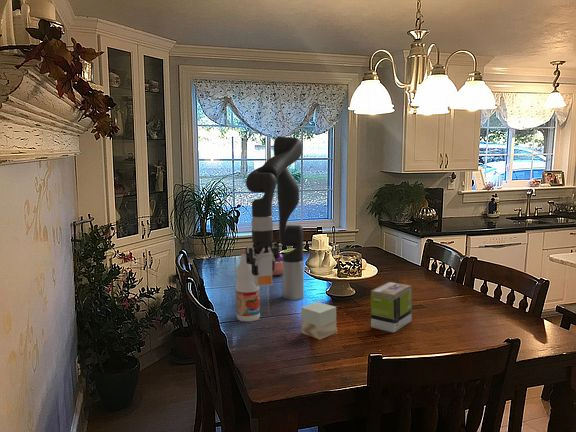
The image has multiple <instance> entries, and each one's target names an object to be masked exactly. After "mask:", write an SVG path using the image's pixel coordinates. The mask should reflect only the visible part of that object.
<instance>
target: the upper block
mask: <svg viewBox="0 0 576 432" xmlns="http://www.w3.org/2000/svg"><path fill="white" fill-rule="evenodd" d="M335 320H336V321H337V306H334V305H331V304H327V303H324V302H320V301H316V302H314V303H310V304H308V305H304V306H301V322H302V321H304V322H307V323H310V324H313V325H316V326H319V327H320V326H323V325H325V324H328V323H330V322H333V321H335Z"/></svg>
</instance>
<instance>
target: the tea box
mask: <svg viewBox="0 0 576 432" xmlns="http://www.w3.org/2000/svg"><path fill="white" fill-rule="evenodd" d="M412 317H413V316H412V285H409V284H404V283H397V282H391V281H388V282H386V283H384V284H382V285H380V286H378V287H376V288H374V289H372V290H371V291H370V326H371V328H373V329H376V330H382V331H385V332H389V333H396V332H397V331H399V330H400V329H402V328H404V326H406V325H408V324H409V323H411V322H412V319H413V318H412Z"/></svg>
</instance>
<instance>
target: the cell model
mask: <svg viewBox="0 0 576 432" xmlns="http://www.w3.org/2000/svg"><path fill="white" fill-rule="evenodd" d="M283 255H284V254H282V253H280V252H279V258H278V259H276V260H275V261H274V264H275V265H274V267H275V268H274V271H272V276H280V275H283Z"/></svg>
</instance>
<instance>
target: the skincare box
mask: <svg viewBox="0 0 576 432" xmlns="http://www.w3.org/2000/svg"><path fill="white" fill-rule="evenodd" d="M258 255H259V254H256V253H255V256H256V257H257V256H258ZM255 260H256V259H255ZM257 265H258V275H257V276H255V275H254V283H255V285H256V286H257V287H258V286H259V287H267V286H273V275H272V253H263V254H262V257H261V259H260V260H259V261H258V264H257Z"/></svg>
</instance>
